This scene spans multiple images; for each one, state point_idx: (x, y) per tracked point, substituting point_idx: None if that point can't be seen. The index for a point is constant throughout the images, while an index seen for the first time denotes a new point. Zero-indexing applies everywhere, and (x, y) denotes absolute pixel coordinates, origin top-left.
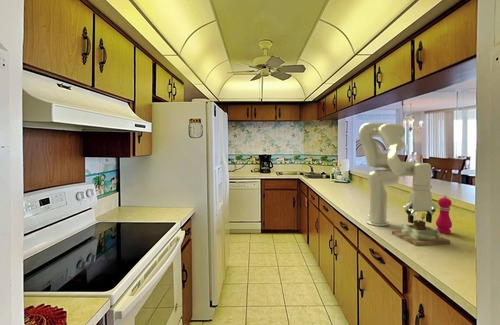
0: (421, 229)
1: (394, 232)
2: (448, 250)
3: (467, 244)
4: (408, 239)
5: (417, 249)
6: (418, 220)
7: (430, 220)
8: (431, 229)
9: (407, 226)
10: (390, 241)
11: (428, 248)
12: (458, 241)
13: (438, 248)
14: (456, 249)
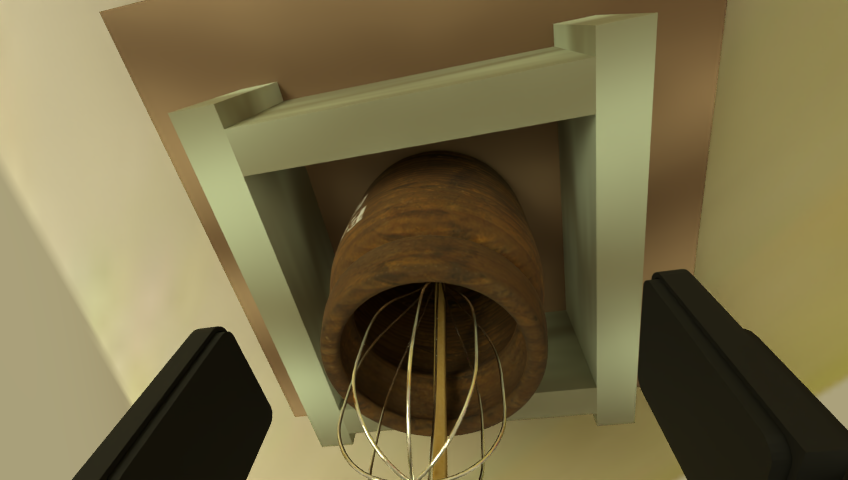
0: (422, 357)
1: (139, 90)
2: (512, 471)
3: (827, 370)
4: (261, 341)
5: (291, 453)
6: (458, 284)
7: (668, 423)
8: (593, 335)
9: (251, 234)
10: (106, 305)
11: (383, 440)
12: (837, 294)
13: (463, 441)
14: (593, 458)
